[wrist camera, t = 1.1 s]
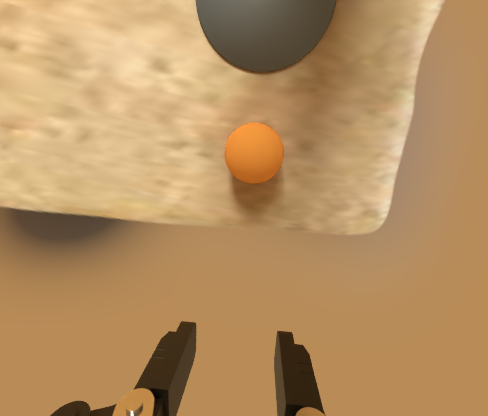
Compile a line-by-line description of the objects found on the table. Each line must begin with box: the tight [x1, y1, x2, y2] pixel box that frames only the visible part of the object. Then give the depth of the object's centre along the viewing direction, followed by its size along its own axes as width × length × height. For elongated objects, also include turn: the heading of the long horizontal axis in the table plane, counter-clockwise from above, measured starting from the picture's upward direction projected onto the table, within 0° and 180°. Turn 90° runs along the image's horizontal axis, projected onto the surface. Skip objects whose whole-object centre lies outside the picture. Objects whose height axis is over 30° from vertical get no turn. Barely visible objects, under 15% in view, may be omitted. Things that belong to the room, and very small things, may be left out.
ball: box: [225, 123, 284, 183], centre depth 24 cm, size 6×6×6 cm
